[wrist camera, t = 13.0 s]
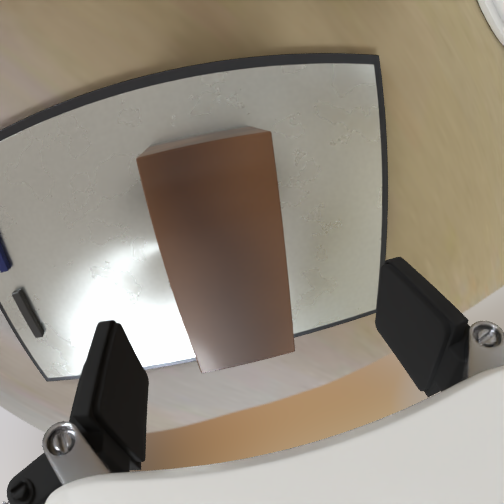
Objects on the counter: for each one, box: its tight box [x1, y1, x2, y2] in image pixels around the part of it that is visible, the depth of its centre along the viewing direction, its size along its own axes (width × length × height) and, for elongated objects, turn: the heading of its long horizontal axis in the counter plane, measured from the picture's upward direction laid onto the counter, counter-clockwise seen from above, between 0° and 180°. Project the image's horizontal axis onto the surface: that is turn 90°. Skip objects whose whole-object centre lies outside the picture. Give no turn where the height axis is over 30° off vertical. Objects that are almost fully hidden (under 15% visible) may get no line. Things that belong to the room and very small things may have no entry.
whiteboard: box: [0, 53, 388, 381], centre depth 19 cm, size 30×20×1 cm, turn 99°
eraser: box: [136, 126, 295, 373], centre depth 17 cm, size 6×12×5 cm, turn 9°
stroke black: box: [12, 289, 44, 338], centre depth 18 cm, size 1×4×1 cm, turn 8°
